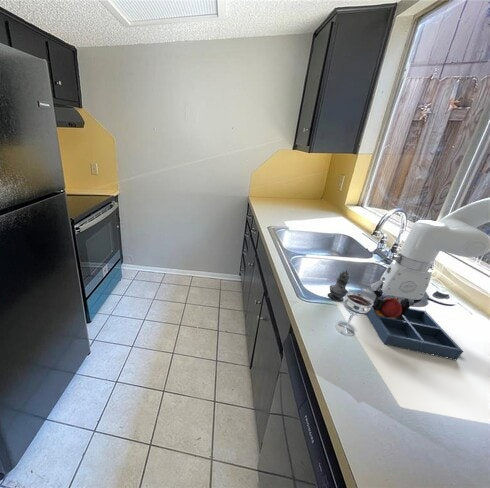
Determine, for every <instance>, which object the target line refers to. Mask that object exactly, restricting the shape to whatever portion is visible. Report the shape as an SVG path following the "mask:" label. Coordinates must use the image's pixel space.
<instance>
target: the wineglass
mask: <svg viewBox="0 0 490 488" xmlns="http://www.w3.org/2000/svg"><path fill="white" fill-rule="evenodd" d="M343 298H344V301H343V302H342V303H343V304H342V305H343V307H344V309H345V310H346V312H347V313H349V318H348V319H347V322H346V324H342V323H338V324H336V325H335V329H336V330H337V332H339V333H341V334H342V335H344V336H348V337H354V336H355V331H354V330H353V329H352V328H351V326H349V325H350V323H351V321H352V320H353V318H354V316H356V317H361V316H366V314H368V313H369V312H370V311H371V306H373V304H374V303H373V301H374V300H372V299H371V298H370V297H368V296H367V295H365V294H362V293H361V292H360V293H359V292H354V291H350V292H349V291H348V293H347V294H346V296H344V297H343Z"/></svg>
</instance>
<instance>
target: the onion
mask: <svg viewBox="0 0 490 488" xmlns="http://www.w3.org/2000/svg"><path fill="white" fill-rule="evenodd" d="M383 300H384V304H383V306H382V308H381V310H380V313H381V314H382V315H383V316H384V317H388V318H390V317H391V318H393V317H397V316H399V315H400V314H401V313H402V306H401V304H400V301H399V297H395V296H393V297H386V298H384V299H383Z"/></svg>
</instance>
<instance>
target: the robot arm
mask: <svg viewBox="0 0 490 488" xmlns="http://www.w3.org/2000/svg"><path fill="white" fill-rule="evenodd" d="M488 223H490V197H487V198H484V199H480V200H476V201H474V202H471V203H468V204H466V205H464V206H462V207H460V208H458V209H456V210H454V211H452V212H451V213H449V214H447V215H445V216H444V217H442V218H441V219H439V220H437V221H434V220H428V219H421V220H417V221H415V222H414V223H413V224H412V226H411V228H410V230H409V232H408V234H407V236H406V239H405V240H404V243H403V244H402V247H401V249H400V251H399V252H398V253H397V254H396V255H392V256H391V259H392V260H393V261H391V263H390V264H389V265H388V266H387V268H386V269H385V270H384V272H383V273H382V275H381V277H380V279H379V280H378V281H375V282H373V283H370V284H369V285H368V287H369V288H370V290H371V291H372V292H373V293H374V295H375V299H374V300H373V301H374V304H373V305H374V307H375V308H376V309H377V310H378V311H380V310H381V308H382V306H383V304H384V299H386V298H388V296H391V297H397V298H401V299H400V301H399V303H400V304H401V306H402V313H401V315H405V313H406V312H407V311H408V309H409V308H411V306H414V305H415V304H417V303H420V302H421V301H424V300H426V299H429V298H430V295H429V294H428V293H427V289H428V287H429V284H430V281H431V278H432V273H433V272H432V270H431V267H432V266H433V264H434V262H435V260H436V258H437V256H438V255H439V253H440V252H443V253H447V254H451V255H454V256H458V257H463V258H479V257H482V256H485V255H487V254H488V253H490V235H489V234H487V233H486V232H485V231H482V230H480V229H479V228H478V227H481V226H482V225H485V224H488ZM378 288H379V289H378Z"/></svg>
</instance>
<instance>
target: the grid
mask: <svg viewBox="0 0 490 488" xmlns="http://www.w3.org/2000/svg"><path fill="white" fill-rule="evenodd" d="M372 301H373V303H374V300H372ZM365 316H366V317H367V319H368V321H369V323H370V325H372V327H373V329H374V330H375V333H376V334H377V336H378V337H379V339H380V340H381V342H382V344H383V345H386V346H391V347H394V348H400V349H403V350H408V349H409V351H413V352H417V351H418V352H417V353H422V352H423V354H426V353H428V354H427V355H431V354H434V355H433V356H435V355H438V356H437V357H440V356H442V357H441V358H444V357H448V358H447V359H449V358H452V359H451V360H453V359H456V360H455V361H457V360H458V359H459V358H460V357H461V355H462V354H463V352H464V350H463V349H462V348H461V347H460V346H459V345H458V344H457V342H455V340H454V339H452V337H451V336H449V334H448V333H447V332H446V331H445V329H443V328H442V327H441V326H440V325H439V324H438V323H437V321H435V319H434V318H433V317H432V316H431V315H430V314H429V313H428V312H427V310H424V309H418V308H413V307H409V309H408V311H407V312H406V313H405V315H401V314H400V315H399V316H397V317H393V318H391V317H390V318H388V317H384V316H383V315H382V314H381V313H380V311H378V310H377V309H376V308H375V307H374V305H373V306H371V311H370V312H369V313H368V314H366V315H365Z"/></svg>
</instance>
